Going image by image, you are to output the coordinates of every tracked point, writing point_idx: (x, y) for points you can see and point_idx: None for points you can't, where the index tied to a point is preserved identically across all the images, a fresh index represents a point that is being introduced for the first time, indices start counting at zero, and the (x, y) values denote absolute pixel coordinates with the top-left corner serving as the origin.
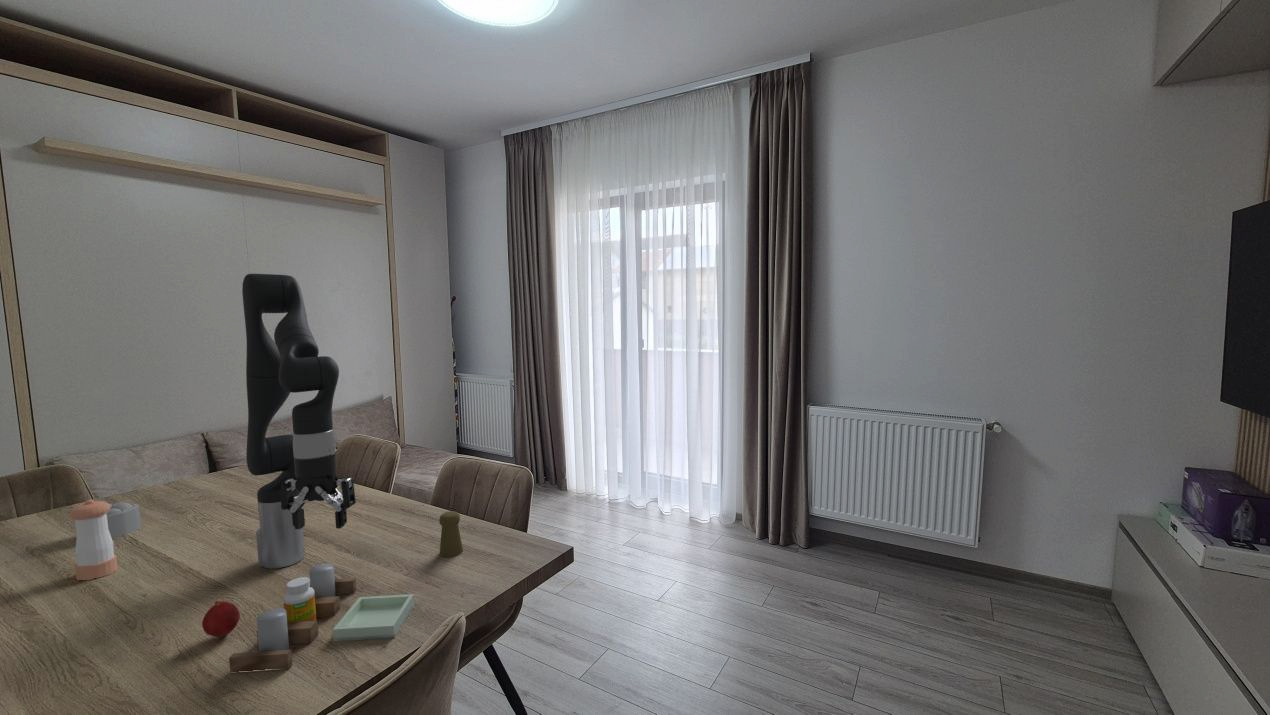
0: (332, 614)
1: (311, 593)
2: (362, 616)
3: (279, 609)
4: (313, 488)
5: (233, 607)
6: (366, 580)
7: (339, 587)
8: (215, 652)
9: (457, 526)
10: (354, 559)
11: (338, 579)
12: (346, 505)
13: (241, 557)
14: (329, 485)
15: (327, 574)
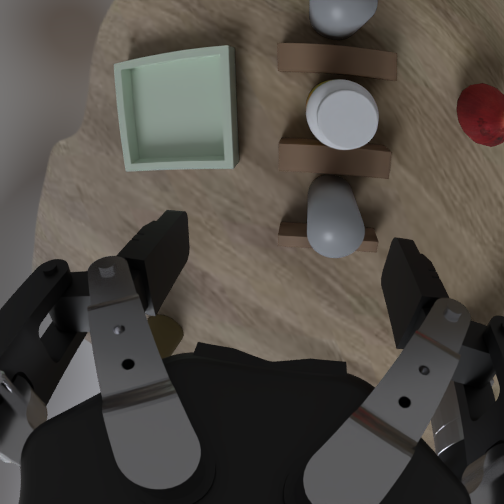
0: (285, 138)
1: (307, 110)
2: (211, 120)
3: (340, 19)
4: (262, 480)
5: (478, 119)
6: (276, 267)
7: None
8: (453, 59)
9: None
10: (331, 340)
11: None
12: (46, 268)
13: None
14: (60, 449)
15: (313, 211)
